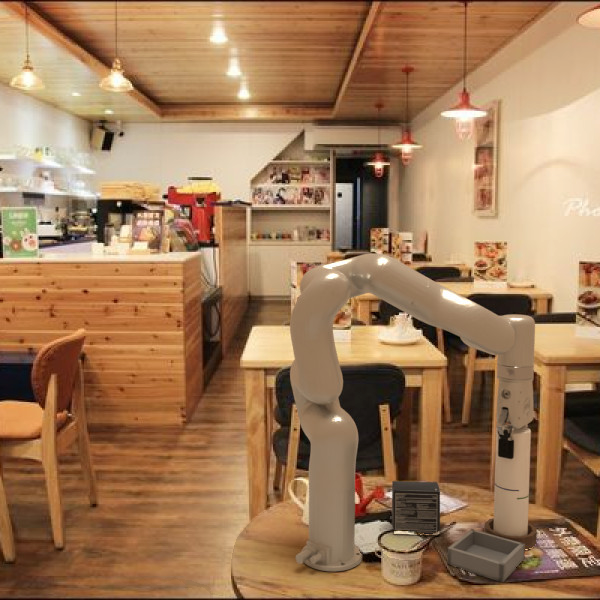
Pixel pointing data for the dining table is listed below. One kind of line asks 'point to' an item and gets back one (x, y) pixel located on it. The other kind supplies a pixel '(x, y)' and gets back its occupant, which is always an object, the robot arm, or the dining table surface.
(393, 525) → the small box
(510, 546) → the tray
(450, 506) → the dining table surface
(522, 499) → the cylindrical container
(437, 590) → the dining table surface
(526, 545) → the collar
